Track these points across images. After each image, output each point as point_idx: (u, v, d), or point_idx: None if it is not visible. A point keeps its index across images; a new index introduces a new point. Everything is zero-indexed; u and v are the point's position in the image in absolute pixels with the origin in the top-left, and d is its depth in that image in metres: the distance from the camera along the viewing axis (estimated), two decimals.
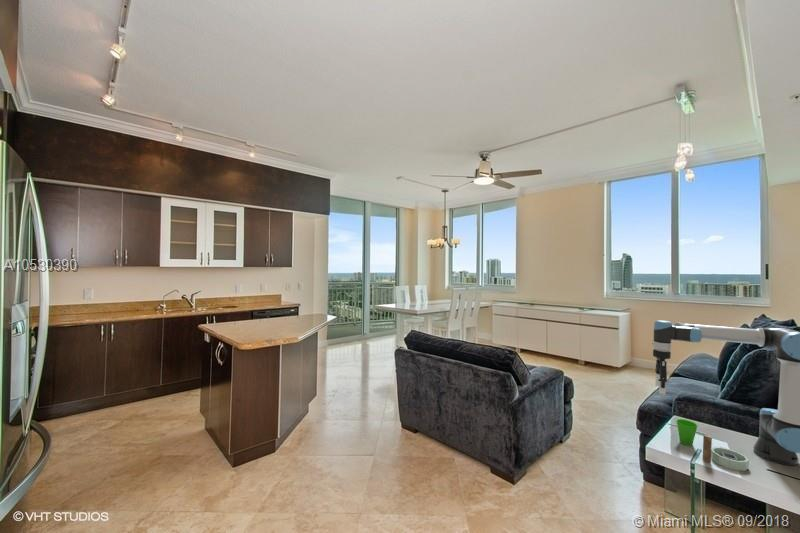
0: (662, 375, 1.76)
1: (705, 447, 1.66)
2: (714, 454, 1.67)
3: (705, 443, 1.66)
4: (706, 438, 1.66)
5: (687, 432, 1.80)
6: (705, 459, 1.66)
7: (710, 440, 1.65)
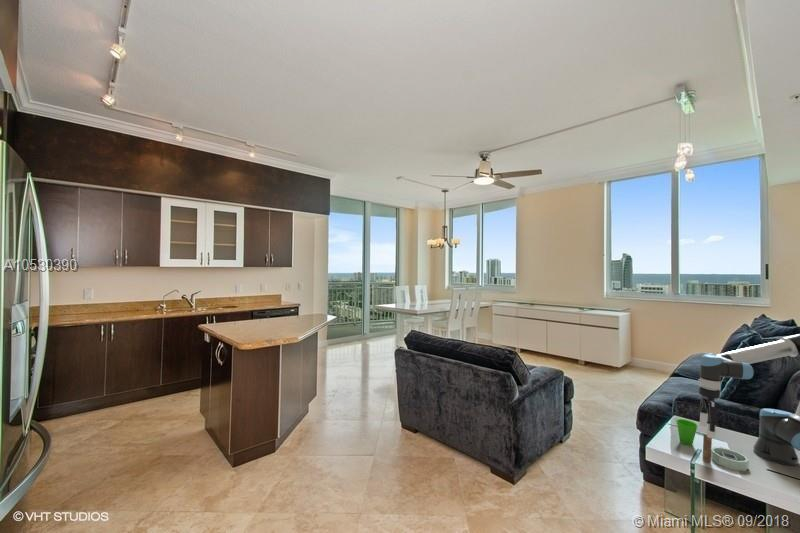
0: (712, 417, 1.59)
1: (705, 447, 1.66)
2: (714, 454, 1.67)
3: (705, 443, 1.66)
4: (706, 438, 1.66)
5: (687, 432, 1.80)
6: (705, 459, 1.66)
7: (710, 440, 1.65)
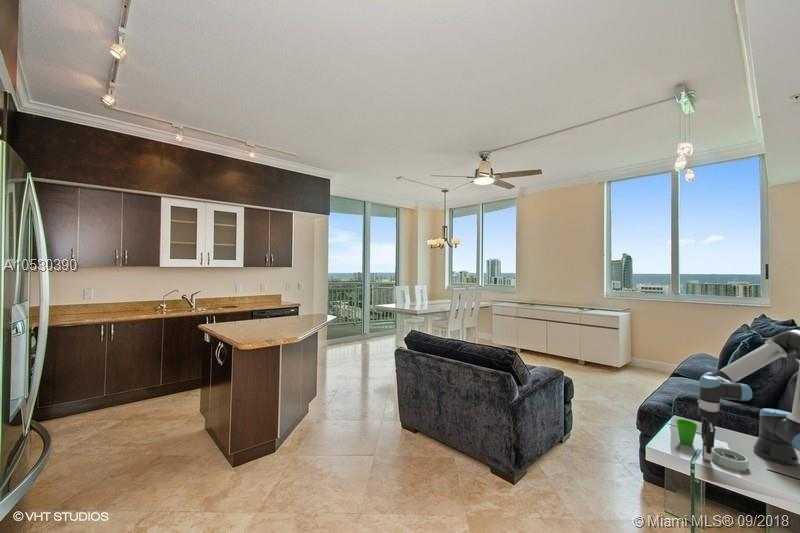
0: (709, 441, 1.62)
1: None
2: (714, 454, 1.67)
3: None
4: None
5: (687, 432, 1.80)
6: (705, 459, 1.66)
7: None
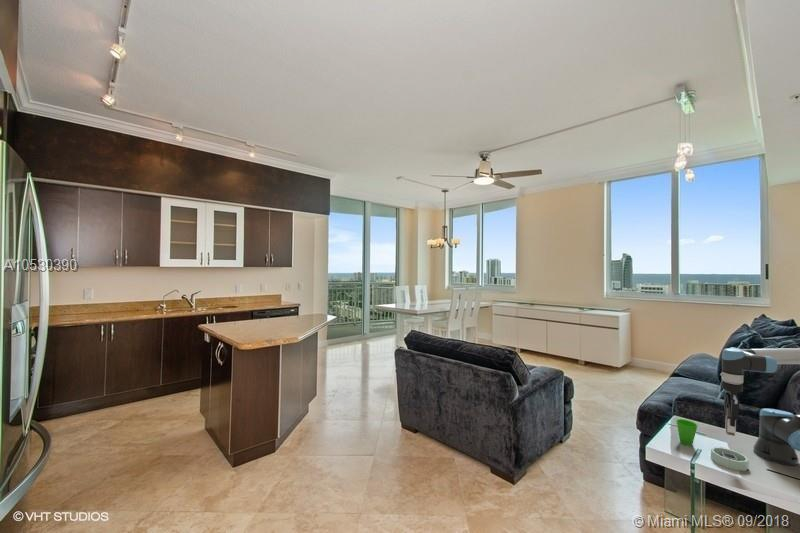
0: (733, 414, 1.61)
1: None
2: (714, 454, 1.67)
3: None
4: None
5: (687, 432, 1.80)
6: (729, 432, 1.65)
7: None
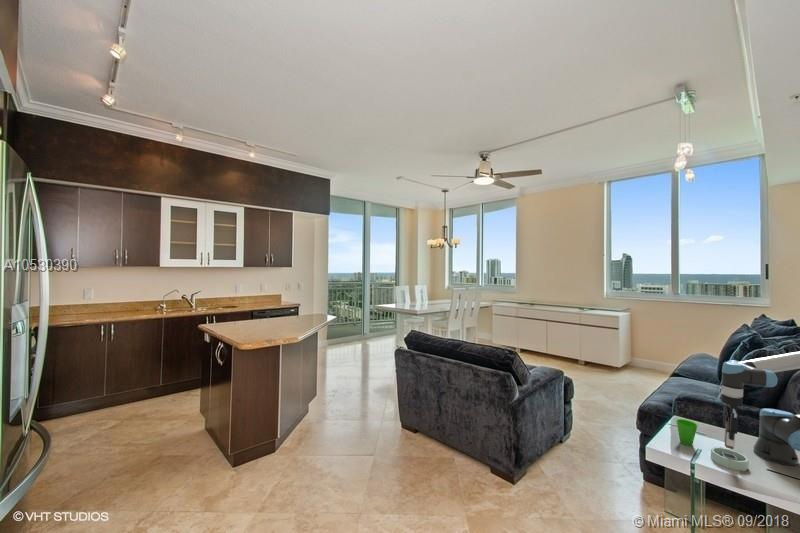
0: (732, 427, 1.61)
1: None
2: (714, 454, 1.67)
3: None
4: None
5: (687, 432, 1.80)
6: (727, 445, 1.65)
7: None
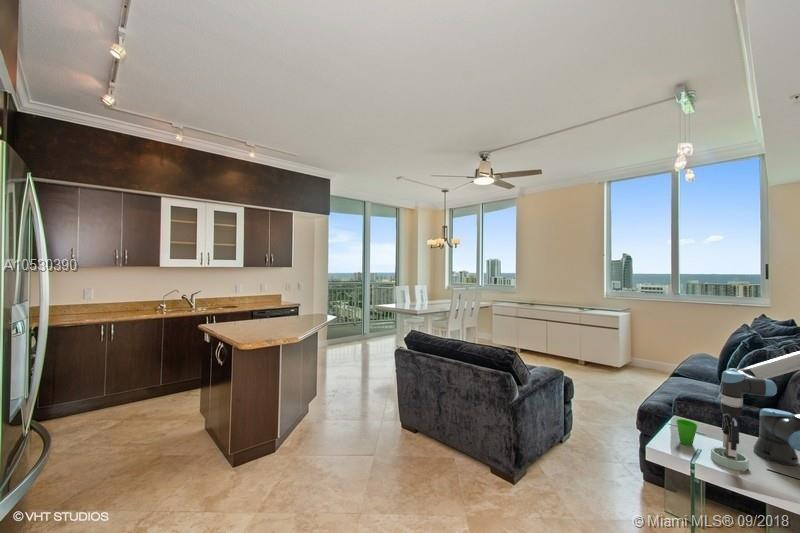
0: (733, 437, 1.60)
1: (728, 447, 1.65)
2: (714, 454, 1.67)
3: None
4: None
5: (687, 432, 1.80)
6: None
7: None
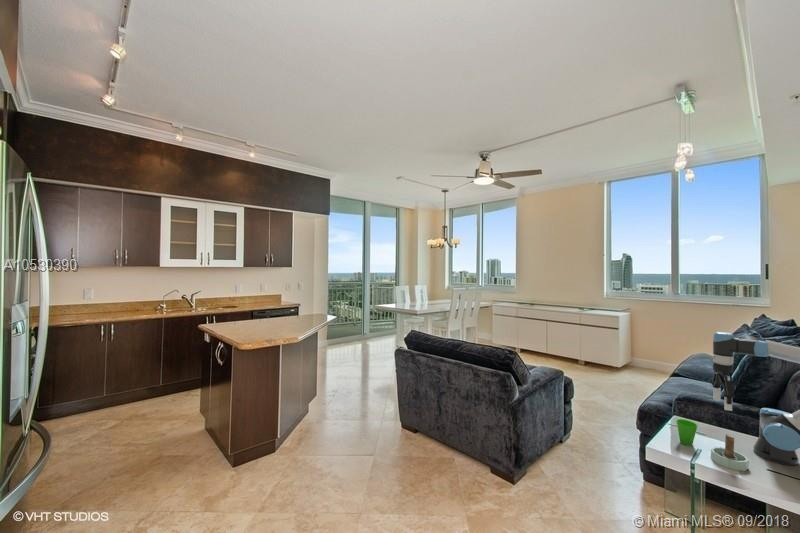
0: (729, 391, 1.67)
1: (727, 447, 1.65)
2: (714, 454, 1.67)
3: (728, 443, 1.65)
4: (728, 438, 1.65)
5: (687, 432, 1.80)
6: None
7: (732, 440, 1.64)
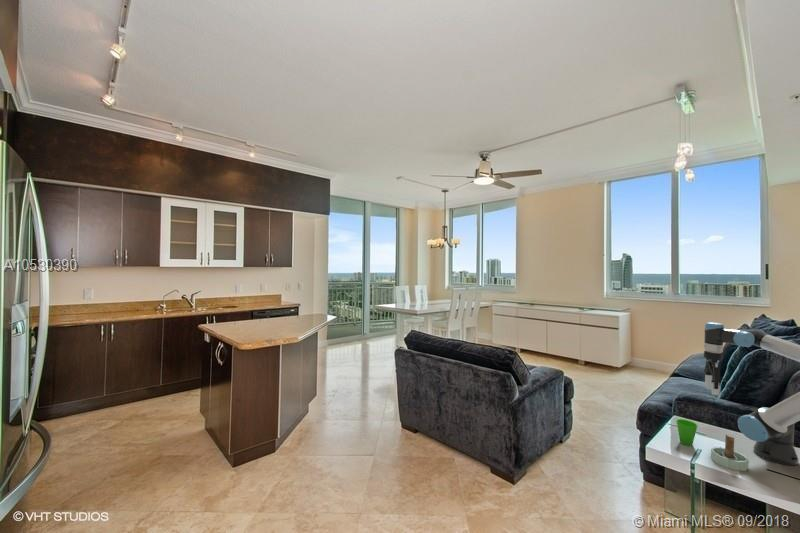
0: (716, 376, 1.79)
1: (727, 447, 1.65)
2: (714, 454, 1.67)
3: (728, 443, 1.65)
4: (728, 438, 1.65)
5: (687, 432, 1.80)
6: None
7: (732, 440, 1.64)
